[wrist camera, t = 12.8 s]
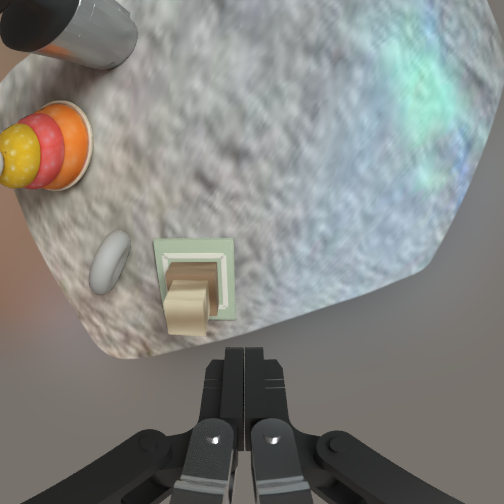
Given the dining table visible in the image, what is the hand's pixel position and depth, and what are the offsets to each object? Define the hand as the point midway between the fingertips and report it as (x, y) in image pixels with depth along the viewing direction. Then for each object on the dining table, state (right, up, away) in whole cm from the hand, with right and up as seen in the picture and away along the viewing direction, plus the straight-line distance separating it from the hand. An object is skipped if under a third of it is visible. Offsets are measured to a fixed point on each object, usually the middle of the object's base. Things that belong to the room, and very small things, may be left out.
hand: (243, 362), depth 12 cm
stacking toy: (-29, +21, +27) cm, 45 cm away
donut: (-20, +5, +34) cm, 40 cm away
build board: (-8, 0, +36) cm, 37 cm away
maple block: (-8, -2, +31) cm, 32 cm away
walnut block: (-8, 0, +35) cm, 36 cm away
